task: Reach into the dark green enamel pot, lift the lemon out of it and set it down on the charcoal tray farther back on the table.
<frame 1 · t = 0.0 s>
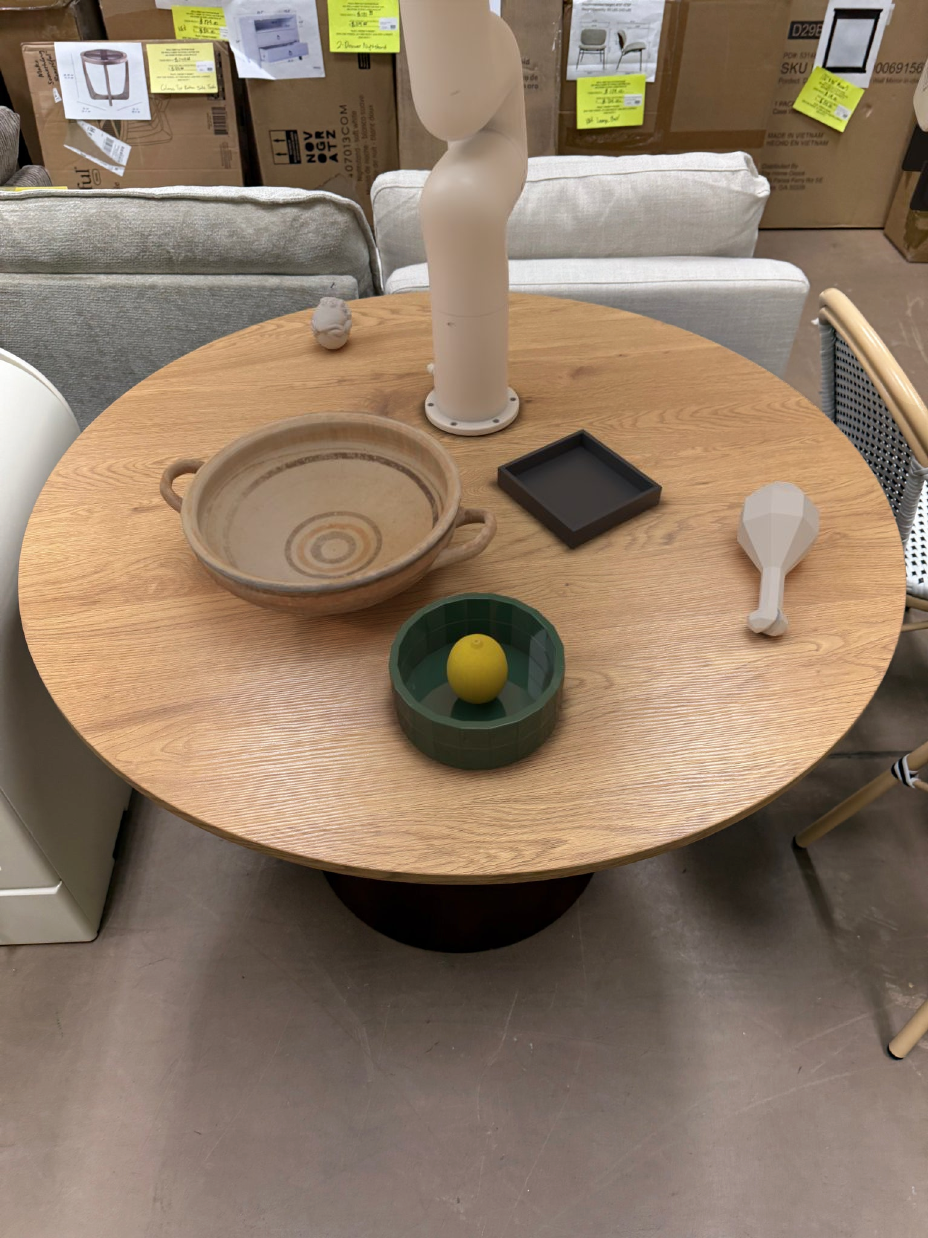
hand: (922, 189, 77), 31 cm above the table, tool pointing down, fingers open, 9 cm apart
frog figurine: (335, 347, 122), on the table
lemon: (477, 697, 77), resting on pot
chicken leg: (766, 582, 87), on the table
ceramic bowl: (334, 560, 91), on the table
pot: (477, 699, 77), on the table
tray: (576, 494, 97), on the table
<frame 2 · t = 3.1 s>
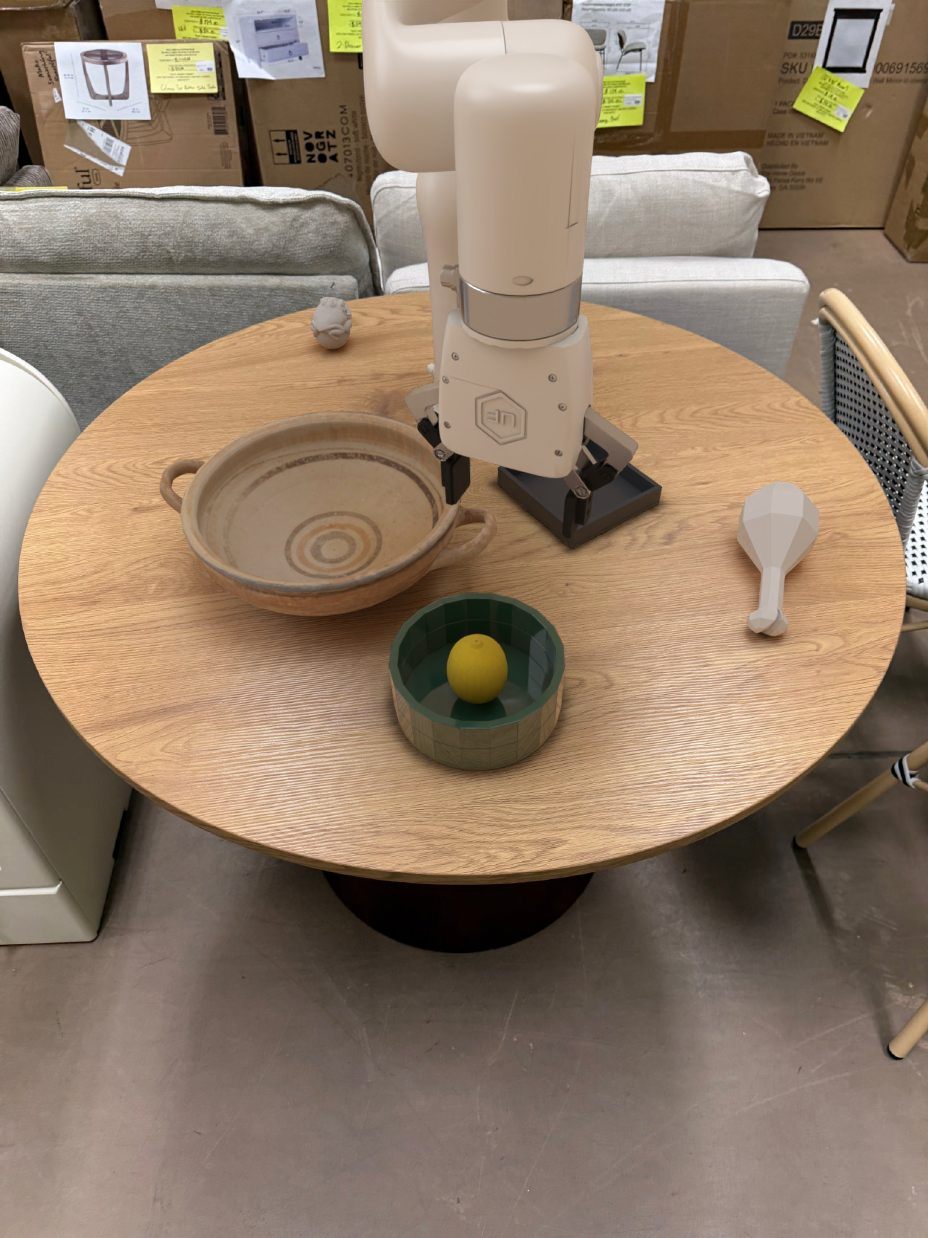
hand: (514, 510, 63), 21 cm above the table, tool pointing down, fingers open, 9 cm apart
nothing on the table moved.
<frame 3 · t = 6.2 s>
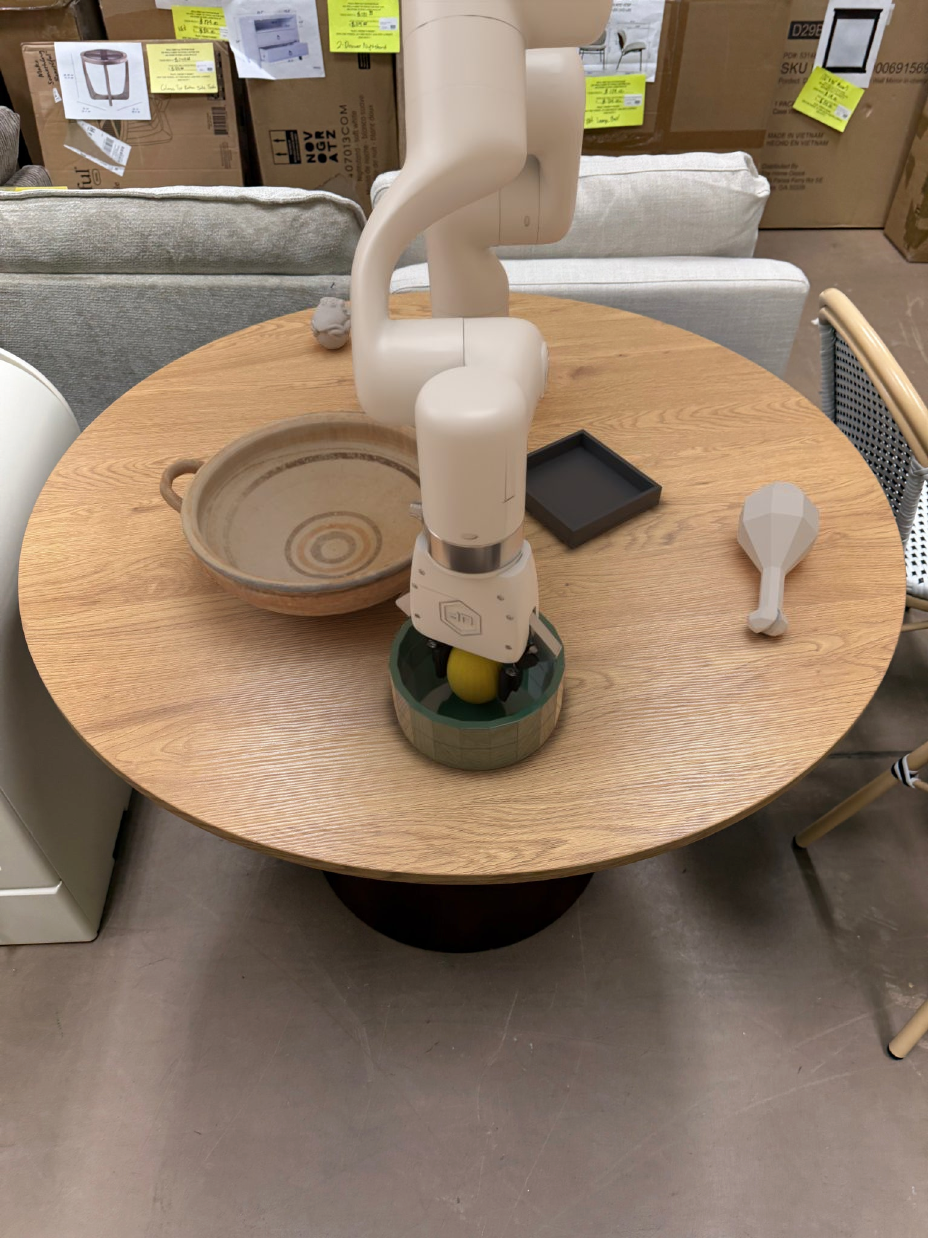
hand: (477, 677, 75), 3 cm above the table, tool pointing down, fingers closed on lemon, 5 cm apart
lemon: (477, 697, 77), resting on pot, touching gripper
everything else where it was.
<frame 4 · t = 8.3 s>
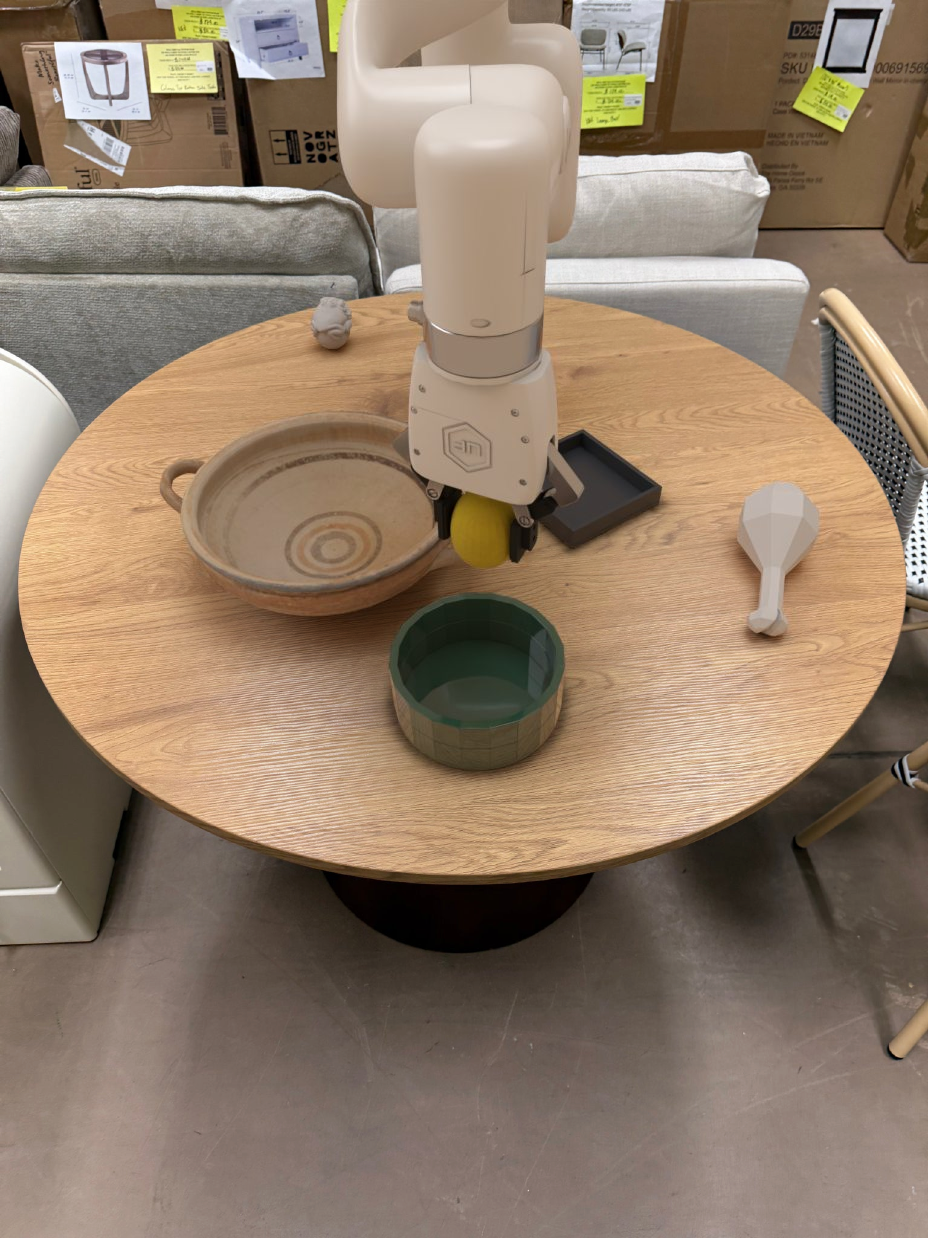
hand: (485, 538, 65), 18 cm above the table, tool pointing down, fingers closed on lemon, 5 cm apart
lemon: (485, 565, 68), point 15 cm above the table, touching gripper
everything else where it was.
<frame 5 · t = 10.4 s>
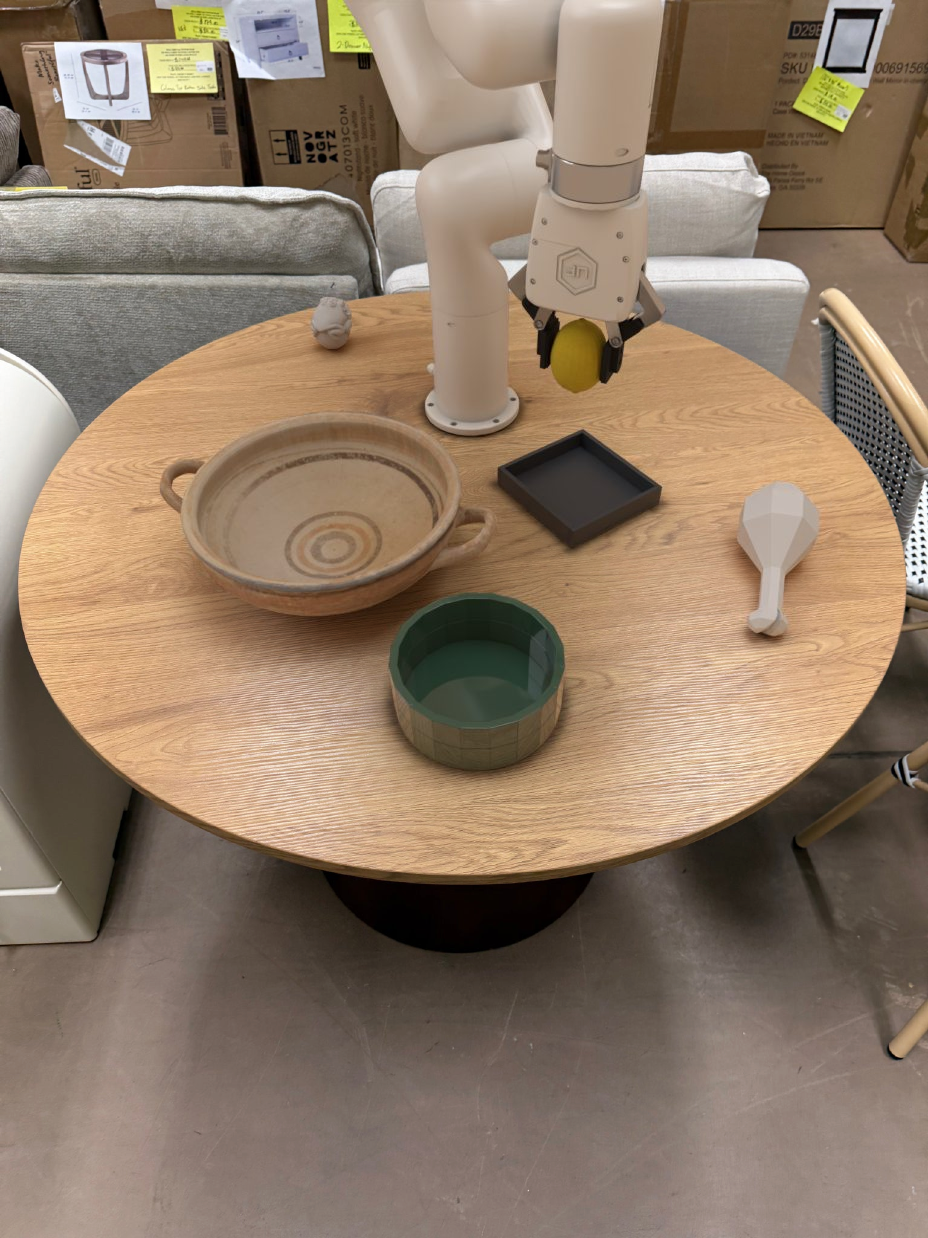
hand: (577, 367, 80), 19 cm above the table, tool pointing down, fingers closed on lemon, 5 cm apart
lemon: (575, 394, 83), point 16 cm above the table, touching gripper
everything else where it was.
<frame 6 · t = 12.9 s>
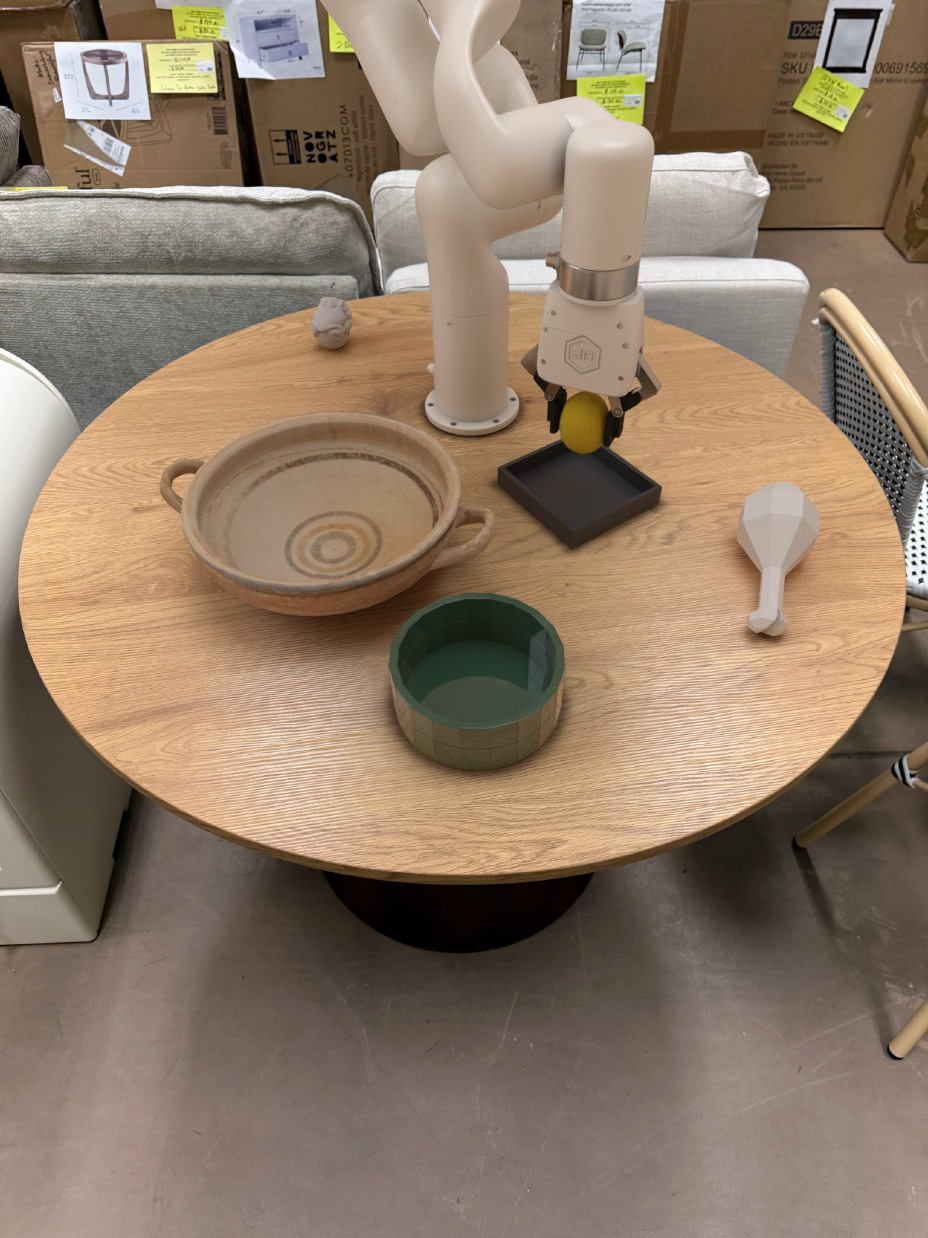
hand: (583, 432, 90), 9 cm above the table, tool pointing down, fingers closed on lemon, 5 cm apart
lemon: (581, 454, 93), point 6 cm above the table, touching gripper
everything else where it was.
when the fingers open (3 cm above the table, at t = 14.7 s): lemon stays where it is, resting on tray.
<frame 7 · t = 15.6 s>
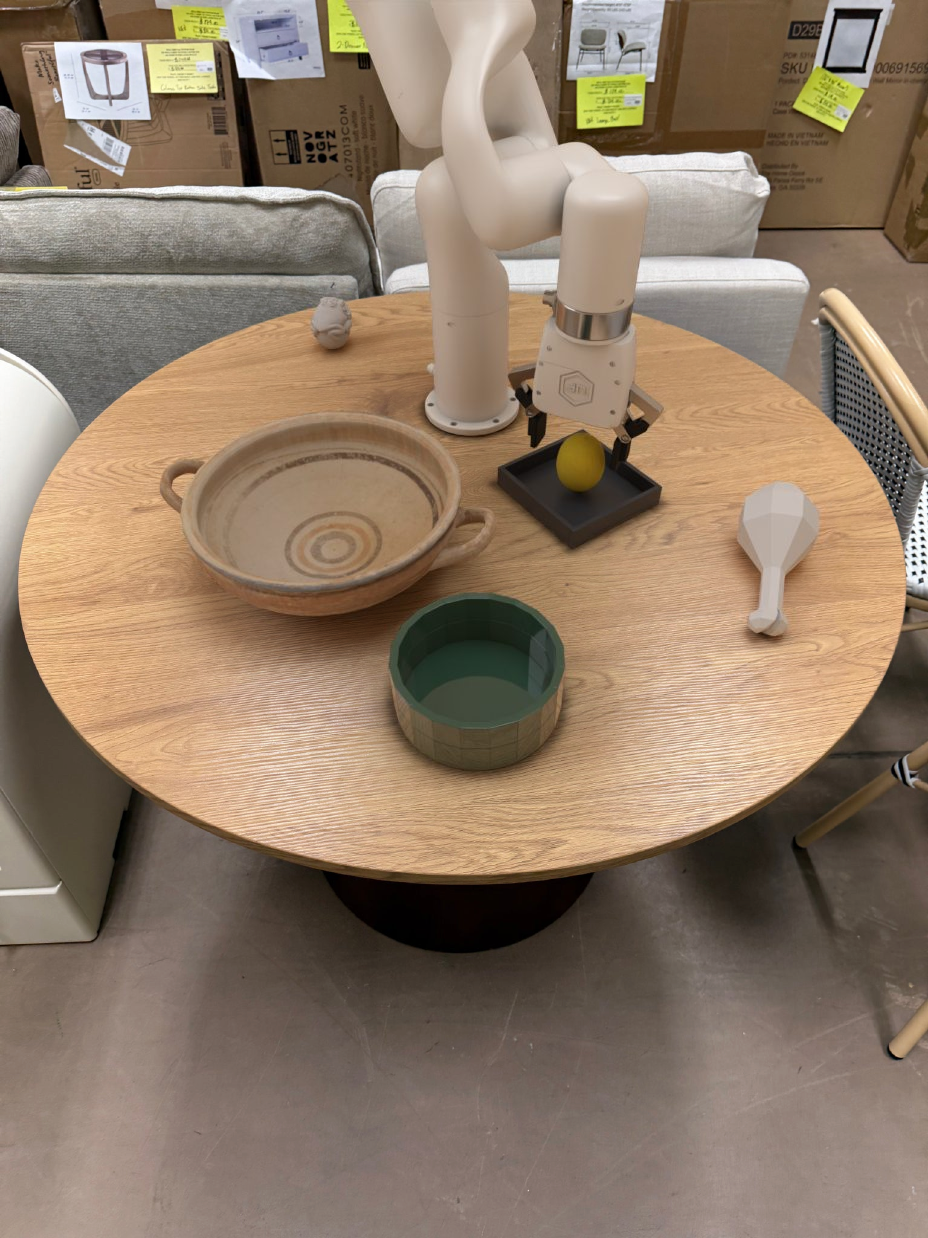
hand: (576, 452, 93), 6 cm above the table, tool pointing down, fingers open, 9 cm apart
lemon: (577, 491, 97), resting on tray
everything else where it was.
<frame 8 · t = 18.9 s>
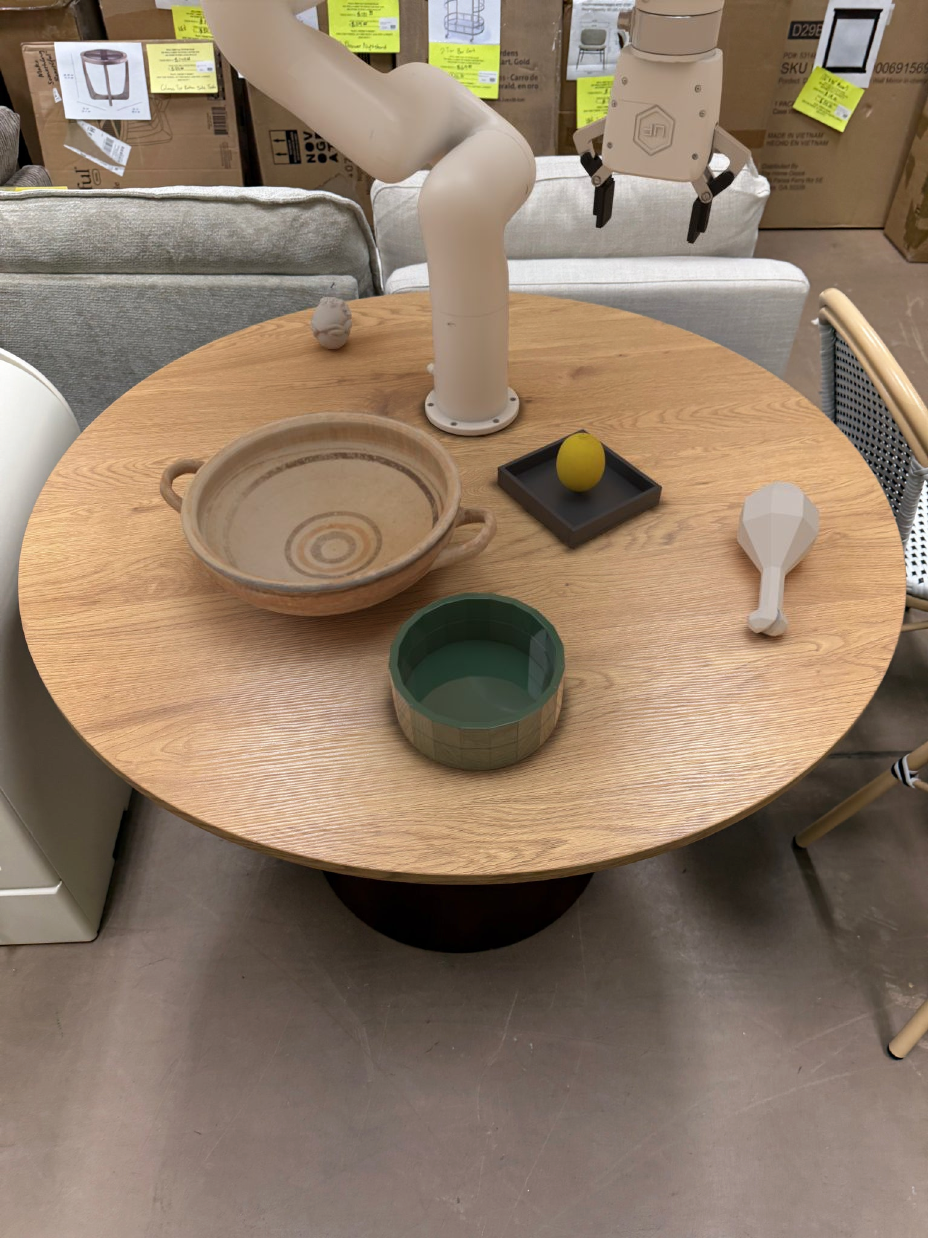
hand: (647, 230, 84), 26 cm above the table, tool pointing down, fingers open, 9 cm apart
nothing on the table moved.
at the end: lemon inside the target area in the tray (0.1 cm from its centre), point 0.4 cm above the tray's base; the gripper is holding nothing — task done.
